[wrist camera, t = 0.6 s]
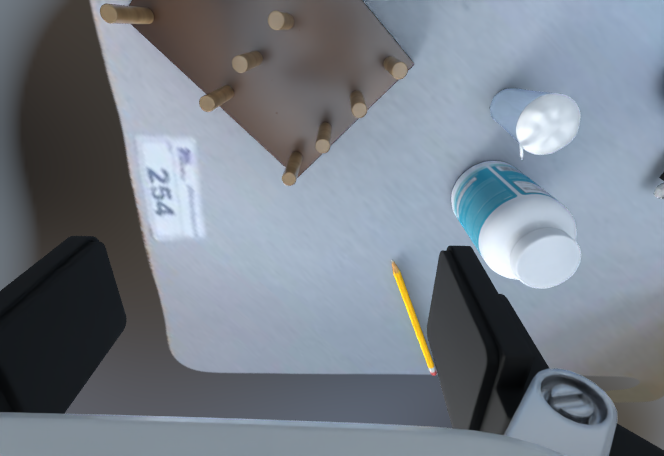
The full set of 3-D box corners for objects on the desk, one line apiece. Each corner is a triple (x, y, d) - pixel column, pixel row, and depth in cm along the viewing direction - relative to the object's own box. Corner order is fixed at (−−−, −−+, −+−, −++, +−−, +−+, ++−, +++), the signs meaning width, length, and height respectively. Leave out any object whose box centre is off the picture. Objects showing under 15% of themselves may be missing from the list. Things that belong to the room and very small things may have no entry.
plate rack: (238, -149, 28) (208, -201, 22) (412, 62, 34) (428, 70, 28) (128, 16, 33) (78, 13, 27) (298, 174, 40) (290, 202, 33)
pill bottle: (456, 232, 42) (502, 314, 30) (442, 171, 39) (487, 235, 27) (526, 212, 41) (603, 289, 29) (518, 148, 38) (600, 204, 26)
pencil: (430, 372, 52) (431, 376, 51) (388, 258, 44) (388, 262, 43) (436, 370, 52) (437, 374, 51) (394, 256, 44) (395, 260, 43)
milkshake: (465, 108, 36) (505, 134, 27) (517, 68, 35) (578, 83, 26) (489, 145, 38) (535, 181, 29) (540, 108, 36) (606, 135, 27)
